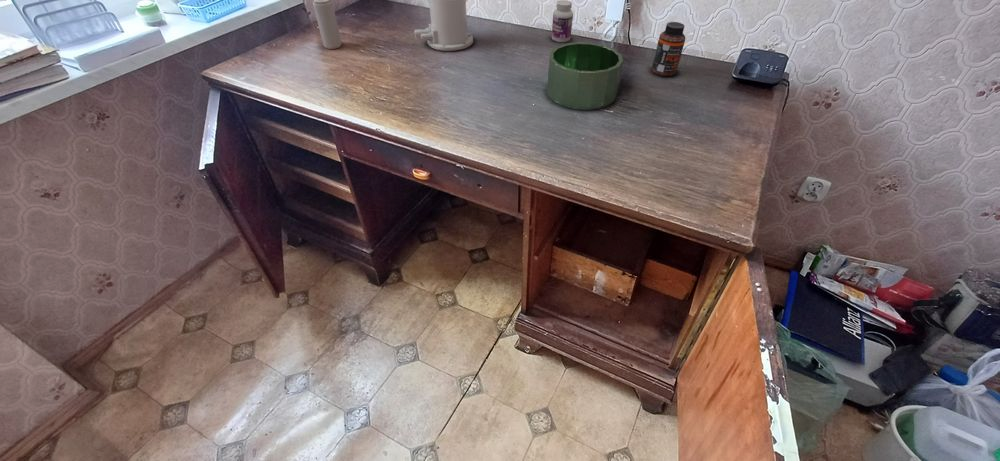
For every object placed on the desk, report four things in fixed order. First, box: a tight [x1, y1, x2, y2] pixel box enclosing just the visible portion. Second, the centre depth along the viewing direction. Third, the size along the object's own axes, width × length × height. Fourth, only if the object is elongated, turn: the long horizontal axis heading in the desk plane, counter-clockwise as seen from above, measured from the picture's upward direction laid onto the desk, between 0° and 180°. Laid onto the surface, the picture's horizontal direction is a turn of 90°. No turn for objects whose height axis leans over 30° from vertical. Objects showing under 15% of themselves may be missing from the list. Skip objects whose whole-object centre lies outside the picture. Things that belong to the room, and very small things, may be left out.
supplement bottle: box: [651, 21, 686, 77], centre depth 111 cm, size 6×6×11 cm
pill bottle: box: [551, 0, 574, 43], centre depth 127 cm, size 5×5×10 cm
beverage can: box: [312, 0, 343, 50], centre depth 123 cm, size 5×5×12 cm
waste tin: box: [546, 42, 624, 111], centre depth 104 cm, size 16×16×8 cm
